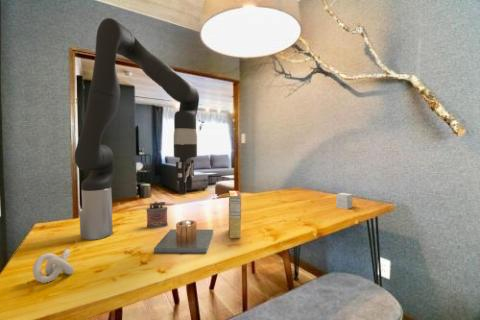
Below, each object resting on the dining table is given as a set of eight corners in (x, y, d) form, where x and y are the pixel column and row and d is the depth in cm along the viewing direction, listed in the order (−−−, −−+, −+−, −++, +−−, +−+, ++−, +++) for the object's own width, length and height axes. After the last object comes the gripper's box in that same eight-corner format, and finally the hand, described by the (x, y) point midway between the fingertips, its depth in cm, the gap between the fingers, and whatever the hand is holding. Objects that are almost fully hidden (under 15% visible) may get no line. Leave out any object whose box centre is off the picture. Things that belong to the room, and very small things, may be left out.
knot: (84, 270, 60) (84, 248, 60) (53, 288, 53) (52, 263, 52) (62, 266, 62) (61, 245, 62) (28, 283, 55) (27, 259, 54)
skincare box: (341, 205, 127) (341, 192, 127) (352, 207, 122) (352, 194, 122) (335, 207, 123) (336, 193, 123) (347, 209, 119) (347, 195, 118)
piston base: (154, 252, 70) (153, 230, 70) (170, 233, 86) (170, 214, 86) (206, 253, 70) (206, 230, 70) (213, 233, 86) (213, 215, 86)
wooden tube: (173, 241, 75) (173, 226, 74) (179, 234, 81) (179, 220, 81) (194, 241, 75) (194, 226, 74) (198, 234, 81) (198, 220, 81)
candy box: (228, 229, 90) (228, 190, 89) (239, 229, 90) (239, 190, 90) (229, 238, 81) (229, 195, 80) (241, 238, 82) (241, 195, 81)
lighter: (146, 228, 92) (145, 203, 91) (147, 225, 95) (146, 201, 94) (167, 226, 94) (167, 202, 93) (167, 223, 97) (167, 200, 96)
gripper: (180, 143, 83) (180, 187, 84) (166, 142, 69) (167, 196, 70) (200, 143, 83) (200, 188, 84) (191, 142, 69) (192, 196, 70)
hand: (185, 191), depth 77 cm, fingers open, 8 cm apart
